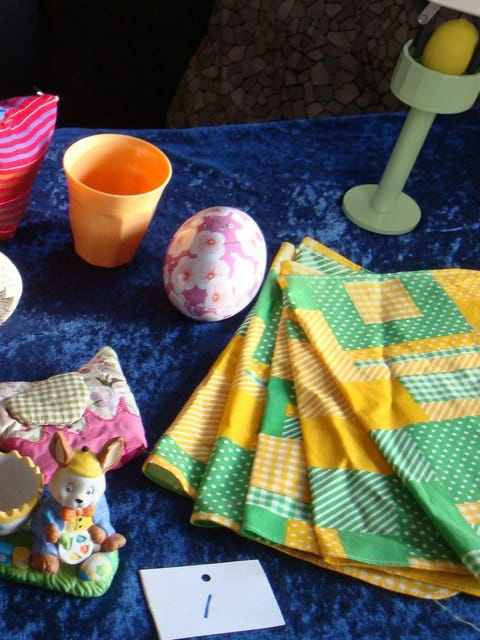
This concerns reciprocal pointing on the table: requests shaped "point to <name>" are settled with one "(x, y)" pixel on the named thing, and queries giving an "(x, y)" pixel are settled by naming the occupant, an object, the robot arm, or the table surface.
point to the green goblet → (409, 143)
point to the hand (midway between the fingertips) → (445, 61)
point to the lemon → (451, 47)
